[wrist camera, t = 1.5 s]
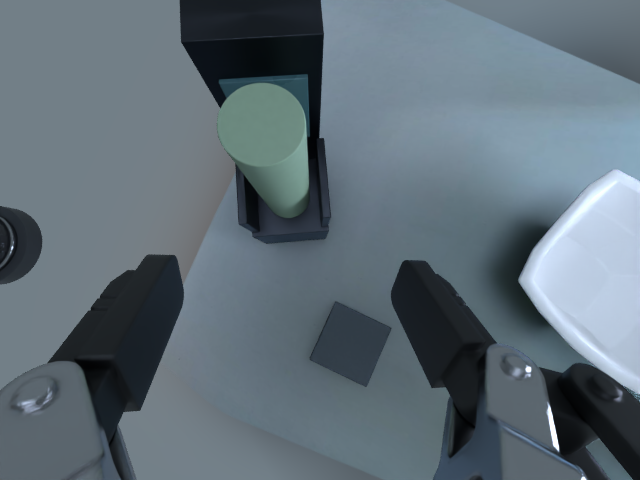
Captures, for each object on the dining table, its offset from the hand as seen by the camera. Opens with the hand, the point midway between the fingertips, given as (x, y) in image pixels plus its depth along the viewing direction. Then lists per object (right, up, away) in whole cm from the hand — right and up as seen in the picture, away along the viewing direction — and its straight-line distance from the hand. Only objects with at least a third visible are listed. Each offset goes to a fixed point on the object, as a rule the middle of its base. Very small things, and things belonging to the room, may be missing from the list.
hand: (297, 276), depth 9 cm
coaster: (+5, -14, +29) cm, 32 cm away
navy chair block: (-3, +7, +31) cm, 32 cm away
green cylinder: (-3, +6, +22) cm, 23 cm away
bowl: (+39, -4, +31) cm, 50 cm away
